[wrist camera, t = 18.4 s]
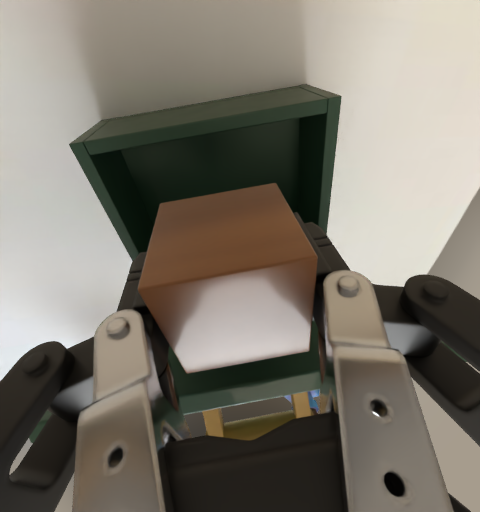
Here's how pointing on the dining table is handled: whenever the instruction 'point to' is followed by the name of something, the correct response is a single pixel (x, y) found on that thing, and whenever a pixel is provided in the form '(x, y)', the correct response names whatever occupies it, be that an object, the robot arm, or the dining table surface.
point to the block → (230, 278)
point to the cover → (245, 391)
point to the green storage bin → (213, 156)
